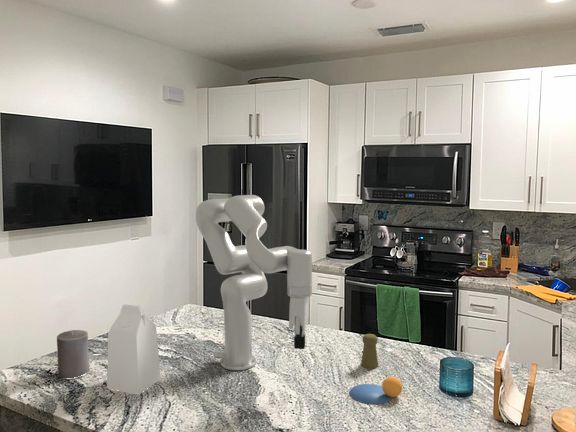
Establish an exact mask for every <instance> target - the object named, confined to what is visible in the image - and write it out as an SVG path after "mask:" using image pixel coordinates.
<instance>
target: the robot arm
mask: <svg viewBox="0 0 576 432" xmlns="http://www.w3.org/2000/svg"><path fill="white" fill-rule="evenodd" d="M265 208H266V207H265V203H264V201H263V200H262V198H261V197H260V196H258V195H255V194H243V195H234V196H231V197H227V198H213V199H212V198H211V199H207V200H203V201H202V202H200V203H199V204H198V206H197V207H196V210H195V223H196V226H197V228H198V231H199V232H200V234H201V236H202V237H203V239H204V241H205V243H206V246H207V247H208V251H209V252H210V253H209V254H210V256H211V258H212V261H213V264H214V266H215V268H216V271H217V272H218V273H219V274H220V275H222V276H223V275H225V276H226V275H231V274H232V275H233V274H237V273H240V274H237V275H233V276H230V277H227V278H226V279H224V280H223V281H222V283H221V286H220V295H221V300H222V305H223V320H224V322H223V323H224V324H223V325H224V327H223V328H224V329H223V332H224V349H222V350H219V349H217V350H215V349H214V350H213V357H214V358H215V359H220V366H221V367H222V368H224V369H226V370H229V371H245V370H248V369H252V368H253V367H254V366H256V364H257V358H256V357H255V356H254V355H253V354H252V353H253V351H252V350H253V347H252V345H253V344H252V342H253V340H252V339H253V338H252V337H253V336H252V328H253V327H252V313H251V310H250V309H249V307H248V305H247V302H249V301H252V300H256V299H259V298H261V297H264V296H265V295H266V294H267V292H268V281H267V278H266V276H265V274H273V273H278V272H279V273H280V272H282V271H287V273H286V274H287V276H286V277H287V278H286V279H287V280H286V281H287V285H286V286H287V289H286V290H287V296H288V297H290V298H289V311H288V313H289V314H288V315H289V316H288V317H289V318H288V328H289V330H292V329H293V328H294V329H293V331H294V337H293V338H294V340H293V343H294V345H293V347H294V349H295V350H297V349H298V350H305V348H306V333H305V332H306V331H305V330H306V329H305V328H306V325H307V323H308V319H309V297H312V295H313V277H312V276H313V256H312V255H313V254H312V252H311V251H310V250H307V249H298V248H296V247H294V246H290V245H285V246H277V247H272V248H267V246H265V245H264V244H263V242H262V241H261V240H260V238H261V237H263V235H264V234H265V232H266V231H267V228H268V222H267V221H266V220H265V218H264V217H263V215H264V213H265ZM226 222H232V223H233V224H234V225H235V226H236V227H237V229H238V230H239V231H240V232H241V233H242V234H243V235H244V237H245V242H244V245H243V244H242V245H236V246H235V244H233V242H232V240H231V237H230V235H229V233H228V232H227V230H225V228H224V227H222V226H221V225H220V224H219V223H226ZM241 273H242V274H241Z"/></svg>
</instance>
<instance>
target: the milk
mask: <svg viewBox="0 0 576 432" xmlns="http://www.w3.org/2000/svg"><path fill="white" fill-rule="evenodd" d="M160 367H161V366H160V357H159V345H158V334H157V326H156V324H155V323H154V322H153V321H152V320H151V319H149V317H148V316H146V315H145V314H144V311H143V308H142V306H141V305H135V304H134V305H133V304H126V303H125V304H123V305H122V306H121V309H120V312H119V315H118V316H117V317H116V318H115V320H114V322H113V323H112V324H111V326H110V328H109V331H108V333H107V369H106V370H107V372H106V375H107V379H106V380H107V381H106V389H107V388H108V389H113V390H119V391H123V392H128V393H127V394H129V393H133V394H132V395H134V394H141V393H142V392H143V391H145V390H146V389H147V388H149V387H150V386H152V385H153V384H154V383H156V382H157V381H159V380H160V379H161V380H162V377H161V368H160ZM161 380H160V381H161ZM160 381H159V382H160ZM157 383H158V382H157ZM157 383H156V384H157ZM153 386H154V385H153ZM153 386H152V387H153ZM150 388H151V387H150ZM150 388H149V389H150ZM146 391H147V390H146ZM146 391H145V392H146ZM123 392H122V393H123ZM143 393H144V392H143ZM143 393H142V394H143ZM142 394H141V395H142Z"/></svg>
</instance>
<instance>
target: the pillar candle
mask: <svg viewBox="0 0 576 432" xmlns="http://www.w3.org/2000/svg"><path fill="white" fill-rule="evenodd" d="M88 333H89V332H88V331H86V330H83V329H82V330H81V329H72V330H67V331H63V332H60V333H59V334H58V335H57V336H56V345H57V346H56V347H57V352H56V353H57V374H58V375H59V376H58V375H57V376H58V378H59V377H61V378H74V377H78V376H81V375H83V374H85V373H87V372H88V371H89V372H90V358H89V357H90V356H89V354H90V353H89V352H90V351H89V334H88ZM89 372H88V373H89ZM88 373H87V374H88ZM61 378H60V379H61Z"/></svg>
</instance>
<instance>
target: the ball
mask: <svg viewBox="0 0 576 432" xmlns="http://www.w3.org/2000/svg"><path fill="white" fill-rule="evenodd" d="M381 384H382V385H381V386H382V389H383V392H384V393H385V394H386V395H387V396H389V397H392V398H397V397H398V396H400V395H401V394H402V392H403V384H402V382H401V380H400V379H399V378H398V377H395V376H393V375H391V376H387V377H385V379H384V380H383V382H382V383H381Z"/></svg>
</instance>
